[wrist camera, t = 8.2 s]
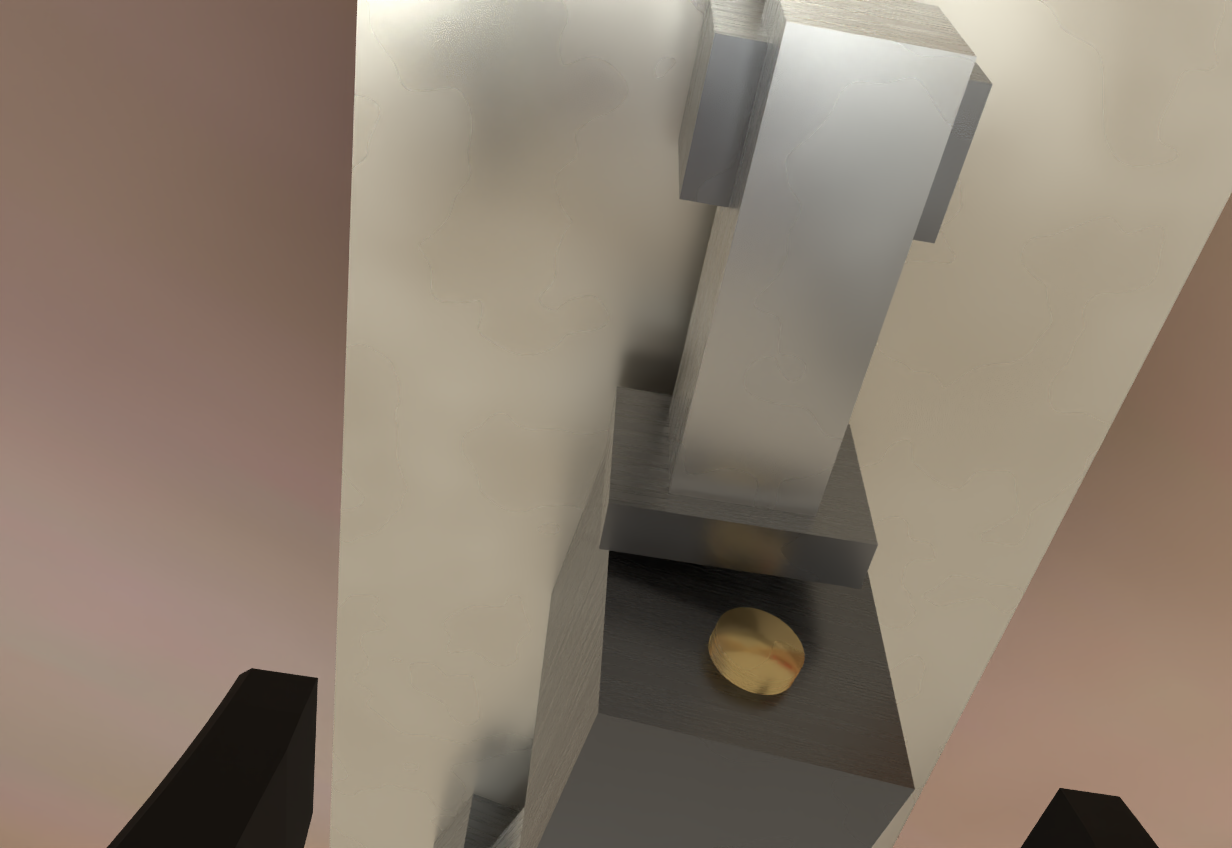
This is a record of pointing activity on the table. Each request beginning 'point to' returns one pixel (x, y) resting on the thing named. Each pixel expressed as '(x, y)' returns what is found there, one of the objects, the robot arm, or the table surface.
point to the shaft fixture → (734, 331)
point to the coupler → (709, 708)
